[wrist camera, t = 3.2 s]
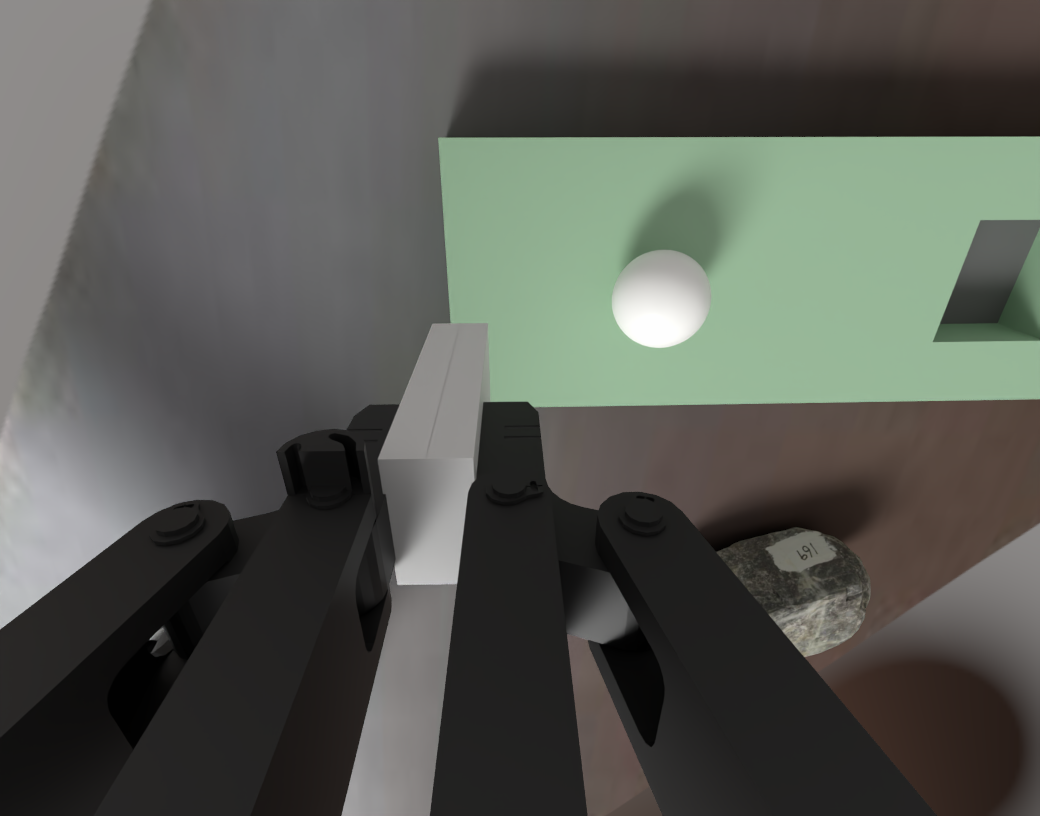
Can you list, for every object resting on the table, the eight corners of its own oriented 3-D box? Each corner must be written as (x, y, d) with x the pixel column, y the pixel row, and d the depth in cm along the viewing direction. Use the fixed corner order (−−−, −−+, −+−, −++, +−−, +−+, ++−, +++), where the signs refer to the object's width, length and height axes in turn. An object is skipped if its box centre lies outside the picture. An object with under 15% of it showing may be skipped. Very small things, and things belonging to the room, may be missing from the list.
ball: (600, 330, 24) (618, 363, 20) (607, 241, 22) (627, 261, 19) (685, 329, 24) (717, 361, 21) (699, 241, 22) (736, 260, 19)
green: (460, 383, 28) (413, 658, 13) (445, 138, 23) (335, 132, 8) (1057, 374, 29) (1647, 622, 14) (1183, 136, 24) (2371, 130, 9)
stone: (732, 460, 36) (883, 533, 28) (758, 515, 40) (897, 592, 32) (599, 607, 34) (721, 731, 26) (641, 649, 38) (757, 768, 30)
